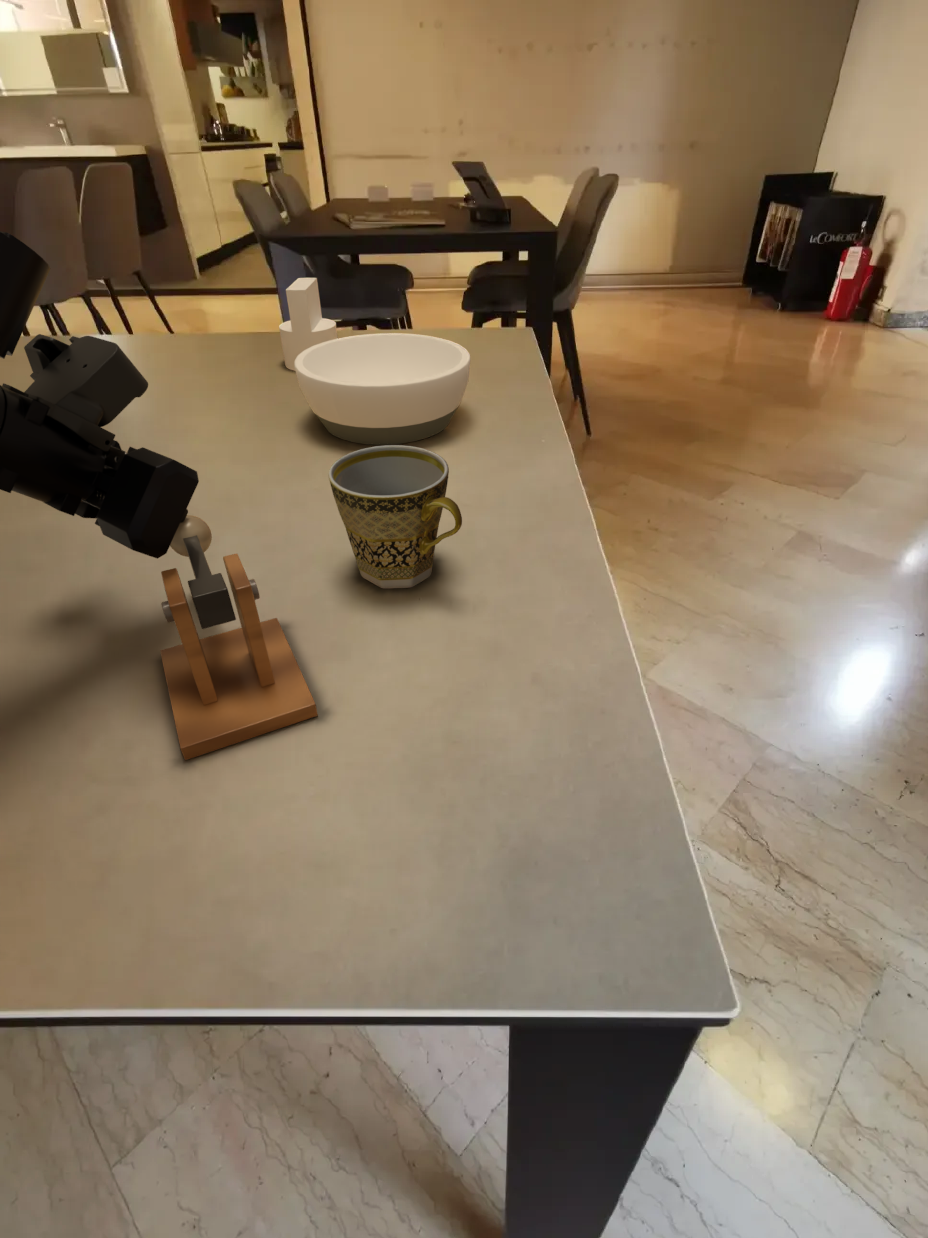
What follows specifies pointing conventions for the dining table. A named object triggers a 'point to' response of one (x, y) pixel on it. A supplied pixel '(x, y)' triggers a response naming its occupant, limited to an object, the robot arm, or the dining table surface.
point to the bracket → (230, 672)
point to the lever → (203, 573)
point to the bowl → (384, 385)
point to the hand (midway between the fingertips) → (183, 515)
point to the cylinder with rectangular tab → (304, 321)
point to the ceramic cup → (393, 510)
